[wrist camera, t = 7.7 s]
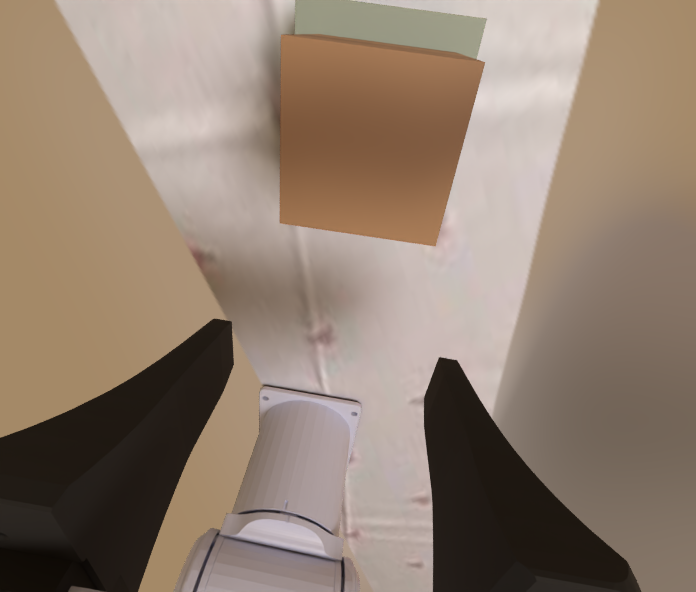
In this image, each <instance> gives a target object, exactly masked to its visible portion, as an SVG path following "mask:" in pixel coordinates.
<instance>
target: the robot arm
mask: <svg viewBox="0 0 696 592" xmlns="http://www.w3.org/2000/svg"><path fill="white" fill-rule="evenodd" d="M233 365H234V360H233V341H232V322H231V321H225V320H220V319H213V320H211V321H210V322H209V323H207V324H206V325H205V326H203V327H202V328H201V329H200V330H199V331H197V332H196V333H195V334H193V335H192V336H191V337H189V338H188V339H187V340H186V341H184V342H183V343H182V344H180V345H179V346H178V347H176V348H175V349H173V350H172V351H171V352H169V353H168V354H167V355H165V356H164V357H163V358H161V359H160V360H158V361H157V362H155V363H154V364H152V365H151V366H149V367H148V368H146V369H145V370H143V371H142V372H140V373H139V374H137V375H136V376H134V377H132V378H131V379H129V380H127V381H126V382H124V383H122V384H120V385H119V386H117V387H115V388H113V389H112V390H110V391H108V392H106V393H104V394H102V395H100V396H98V397H96V398H94V399H92V400H90V401H88V402H86V403H84V404H82V405H80V406H78V407H76V408H74V409H72V410H69V411H67V412H65V413H63V414H61V415H58V416H56V417H53V418H51V419H49V420H46V421H44V422H41V423H39V424H37V425H34V426H32V427H29V428H27V429H24V430H21V431H18V432H15V433H13V434H10V435H7V436H4V437H1V438H0V592H138V589H139V587H140V584H141V581H142V578H143V575H144V572H145V569H146V567H147V564H148V561H149V558H150V555H151V552H152V549H153V547H154V544H155V541H156V539H157V536H158V533H159V530H160V527H161V525H162V522H163V520H164V517H165V514H166V512H167V509H168V507H169V504H170V501H171V499H172V497H173V494H174V491H175V489H176V486H177V484H178V482H179V479H180V477H181V474H182V472H183V469H184V467H185V465H186V462H187V460H188V458H189V456H190V454H191V451H192V449H193V447H194V445H195V444H196V442H197V440H198V438H199V436H200V434H201V432H202V430H203V429H204V427H205V425H206V423H207V421H208V419H209V418H210V416H211V414H212V412H213V410H214V408H215V406H216V404H217V402H218V401H219V399H220V397H221V395H222V393H223V391H224V388H225V386H226V383H227V381H228V378H229V375H230V373H231V370H232V368H233ZM361 410H362V406H361V404H360V403H358V402H353V401H348V400H342V399H336V398H330V397H325V396H319V395H313V394H308V393H302V392H296V391H291V390H285V389H279V388H273V387H268V386H264V387H262V388H261V390H260V392H259V435H258V438H257V441H256V444H255V447H254V450H253V453H252V456H251V458H250V461H249V464H248V467H247V470H246V473H245V476H244V479H243V482H242V485H241V487H240V490H239V493H238V496H237V499H236V502H235V505H234V508H233V511H232V513H227V514H226V516H225V519H224V522H223V525H222V527H221V530H218V529H214V528H211V529H209V530H208V531H207V532H206V533H205V534H204V535H202V536H201V537H199V538H198V539H197V540H196V542H195V543H194V545H193V547H192V549H191V550H190V553H189V555H188V557H187V559H186V561H185V563H184V566H183V568H182V570H181V573H180V575H179V578H178V581H177V583H176V586H175V589H174V591H173V592H360V580H359V575H358V572H357V570H356V568H355V567H354V564H353V562H352V560H351V559H350V558H348V557H342V552H343V542H344V539H343V538H340V537H339V528H340V520H341V511H342V502H343V494H344V485H345V477H346V472H347V468H348V464H349V460H350V456H351V452H352V448H353V444H354V439H355V435H356V431H357V427H358V423H359V419H360V414H361ZM424 429H425V438H426V447H427V455H428V464H429V472H430V481H431V489H432V502H433V592H641V590H640V588H639V585H638V583H637V580H636V578H635V576H634V574H633V573H632V570H631V568H630V566H629V564H628V563H627V561H626V560H625V559H624V558H622V557H621V556H620V555H619V554H618V553H616V552H615V551H614V550H613V549H612V548H611V547H610V546H608V545H607V544H606V543H605V542H604V541H603V540H601V539H600V538H599V537H598V536H597V535H596V534H594V533H593V532H592V531H591V530H590V529H589V528H588V527H587V526H585V525H584V524H583V523H582V522H581V521H580V520H579V519H578V518H577V517H576V516H575V515H574V514H573V513H572V512H571V511H570V510H569V509H567V508H566V507H565V506H564V505H563V504H562V503H561V502H560V501H559V500H558V499H557V498H556V497H555V496H554V495H553V494H552V492H551V491H550V490H549V489H548V488H547V487H546V486H545V485H544V484H543V483H542V482H541V481H540V480H539V478H538V477H537V476H536V475H535V474H534V473H533V472H532V471H531V469H530V468H529V467H528V466H527V465H526V464H525V462H524V461H523V460H522V459H521V457H520V456H519V455H518V454H517V453H516V451H515V450H514V449H513V448H512V446H511V445H510V444H509V442H508V441H507V440H506V438H505V437H504V436H503V434H502V433H501V431H500V430H499V428H498V427H497V425H496V424H495V423H494V421H493V420H492V418H491V417H490V415H489V413H488V412H487V410H486V409H485V407H484V406H483V404H482V402H481V401H480V399H479V397H478V396H477V394H476V392H475V391H474V389H473V387H472V386H471V384H470V382H469V380H468V379H467V377H466V375H465V373H464V372H463V370H462V368H461V366H460V364H459V363H458V361H457V360H452V359H446V358H440V357H439V359H438V362H437V364H436V367H435V370H434V372H433V375H432V378H431V381H430V383H429V386H428V389H427V391H426V394H425V397H424Z"/></svg>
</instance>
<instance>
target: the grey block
mask: <svg viewBox="0 0 696 592" xmlns="http://www.w3.org/2000/svg"><path fill="white" fill-rule="evenodd" d="M486 20H487V19H485V18H478V17H470V16H462V15H455V14H447V13H440V12H432V11H425V10H417V9H410V8H402V7H395V6H387V5H380V4H372V3H365V2H357V1H350V0H295V34H323V35H331V36H338V37H346V38H353V39H360V40H368V41H375V42H383V43H390V44H397V45H405V46H412V47H420V48H427V49H434V50H442V51H449V52H456V53H459V54H462V55H465V56H468V57H471V58H474V59H477V55H478V51H479V47H480V43H481V39H482V35H483V32H484V28H485V24H486Z"/></svg>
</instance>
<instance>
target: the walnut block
mask: <svg viewBox="0 0 696 592" xmlns="http://www.w3.org/2000/svg"><path fill="white" fill-rule="evenodd" d="M484 65H485V62H482V61H480V60H477V59H474V58H471V57H468V56H465V55H462V54H459V53H456V52H449V51H442V50H434V49H427V48H420V47H412V46H405V45H397V44H390V43H383V42H375V41H368V40H360V39H353V38H346V37H338V36H331V35H323V34H294V35H281V117H280V223H282V224H289V225H295V226H302V227H309V228H316V229H322V230H329V231H336V232H343V233H349V234H356V235H363V236H370V237H376V238H383V239H390V240H397V241H403V242H410V243H417V244H424V245H430V246H436V242H437V238H438V235H439V231H440V227H441V224H442V220H443V216H444V212H445V209H446V205H447V201H448V198H449V194H450V190H451V187H452V183H453V179H454V176H455V172H456V168H457V164H458V161H459V157H460V153H461V150H462V146H463V142H464V139H465V135H466V131H467V128H468V124H469V120H470V116H471V113H472V109H473V105H474V102H475V98H476V94H477V91H478V87H479V83H480V80H481V76H482V72H483V68H484Z"/></svg>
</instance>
